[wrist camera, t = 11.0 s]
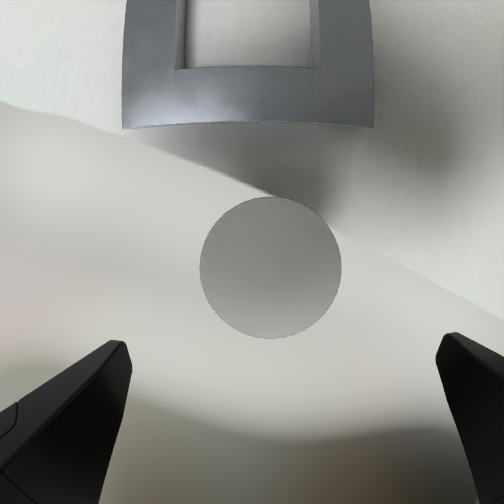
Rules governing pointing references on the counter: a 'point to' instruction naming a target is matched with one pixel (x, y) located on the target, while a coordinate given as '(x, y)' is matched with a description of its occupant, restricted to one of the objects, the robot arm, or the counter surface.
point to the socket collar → (247, 73)
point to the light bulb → (270, 267)
